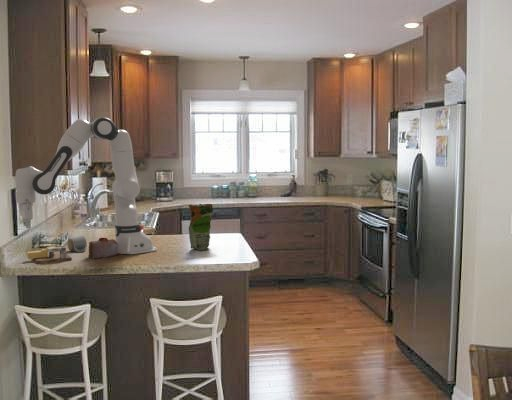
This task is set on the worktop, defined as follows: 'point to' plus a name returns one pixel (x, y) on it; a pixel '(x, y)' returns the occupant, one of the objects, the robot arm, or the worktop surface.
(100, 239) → the small brown suitcase
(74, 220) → the worktop surface
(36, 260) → the base
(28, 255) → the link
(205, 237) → the pouch
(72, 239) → the ceramic mug
